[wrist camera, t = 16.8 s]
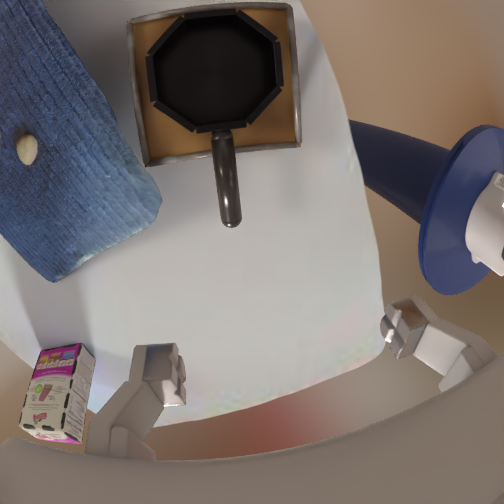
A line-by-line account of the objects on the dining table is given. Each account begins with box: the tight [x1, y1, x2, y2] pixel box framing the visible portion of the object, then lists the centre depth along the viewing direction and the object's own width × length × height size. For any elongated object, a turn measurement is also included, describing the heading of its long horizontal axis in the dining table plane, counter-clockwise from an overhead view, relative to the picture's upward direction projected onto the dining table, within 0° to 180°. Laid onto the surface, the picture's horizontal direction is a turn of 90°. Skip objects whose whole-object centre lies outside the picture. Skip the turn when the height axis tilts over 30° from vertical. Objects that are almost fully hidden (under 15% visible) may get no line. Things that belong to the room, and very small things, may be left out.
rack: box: [127, 2, 302, 167], centre depth 21 cm, size 14×14×5 cm
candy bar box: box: [18, 343, 96, 444], centre depth 31 cm, size 11×5×16 cm, turn 103°
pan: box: [145, 8, 284, 228], centre depth 20 cm, size 10×19×3 cm, turn 4°
